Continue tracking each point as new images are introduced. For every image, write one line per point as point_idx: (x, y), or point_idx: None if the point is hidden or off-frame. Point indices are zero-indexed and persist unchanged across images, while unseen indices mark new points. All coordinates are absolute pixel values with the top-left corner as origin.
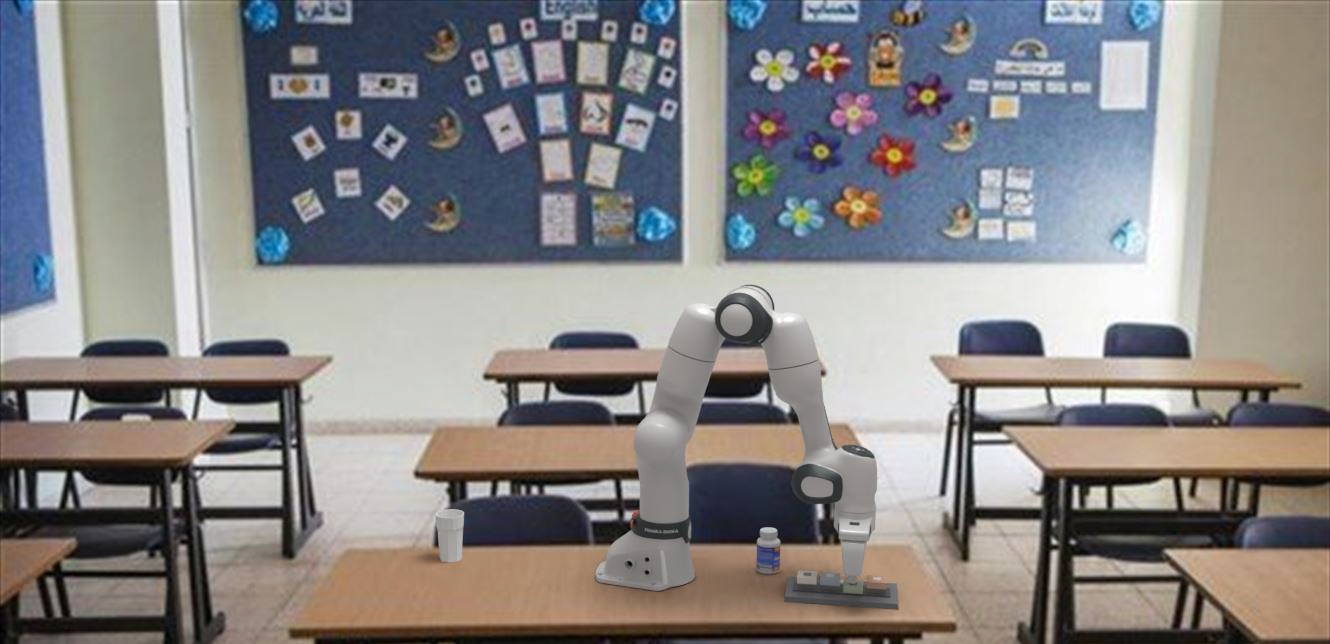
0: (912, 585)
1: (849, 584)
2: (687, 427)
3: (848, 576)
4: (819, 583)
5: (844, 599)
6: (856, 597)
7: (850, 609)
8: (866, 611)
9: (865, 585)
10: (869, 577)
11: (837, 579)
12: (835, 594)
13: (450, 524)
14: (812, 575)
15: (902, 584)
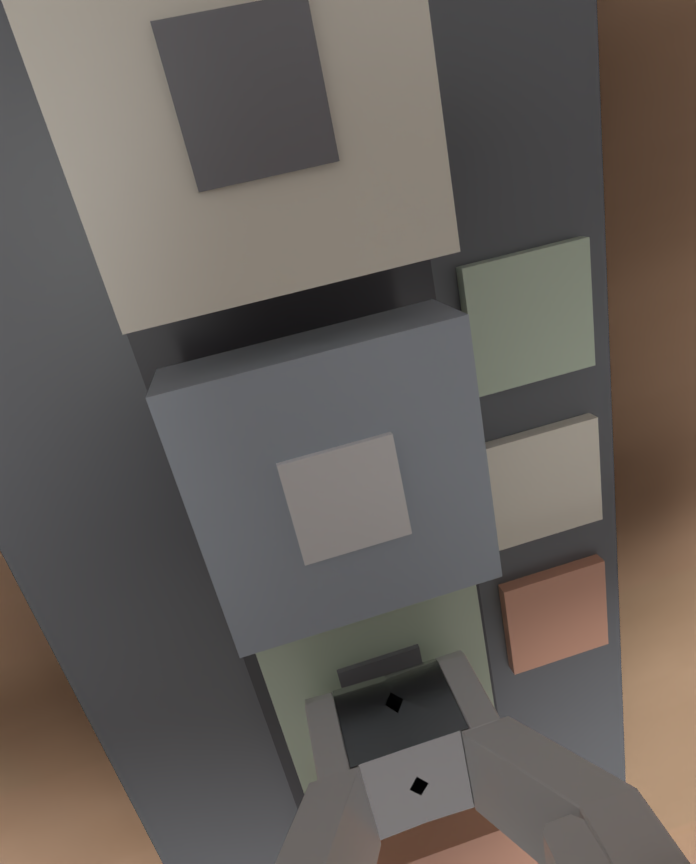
0: (678, 829)
1: (344, 666)
2: None
3: (315, 768)
4: (417, 267)
5: (82, 649)
6: (203, 714)
7: (16, 687)
8: (54, 795)
9: (528, 673)
10: (464, 861)
11: (246, 626)
12: (179, 527)
13: None
14: (235, 217)
15: (685, 783)
